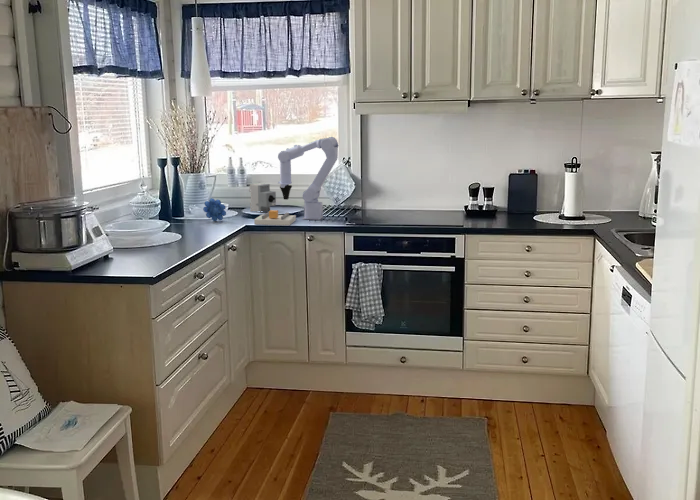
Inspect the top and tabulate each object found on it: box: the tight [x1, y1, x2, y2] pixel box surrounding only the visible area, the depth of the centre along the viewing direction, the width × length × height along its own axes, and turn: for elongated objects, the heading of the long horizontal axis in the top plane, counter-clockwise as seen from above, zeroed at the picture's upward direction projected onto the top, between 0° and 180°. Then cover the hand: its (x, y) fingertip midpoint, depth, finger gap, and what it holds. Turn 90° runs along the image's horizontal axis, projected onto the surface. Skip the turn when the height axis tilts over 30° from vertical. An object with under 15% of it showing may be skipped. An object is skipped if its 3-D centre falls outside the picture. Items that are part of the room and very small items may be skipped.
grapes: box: [202, 197, 227, 222], centre depth 367 cm, size 12×7×12 cm, turn 109°
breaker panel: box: [254, 211, 297, 226], centre depth 366 cm, size 18×14×4 cm
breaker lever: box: [268, 209, 279, 218], centre depth 362 cm, size 4×3×4 cm
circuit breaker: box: [248, 182, 277, 212], centre depth 394 cm, size 8×14×15 cm, turn 53°
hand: (286, 199), depth 378 cm, fingers closed
